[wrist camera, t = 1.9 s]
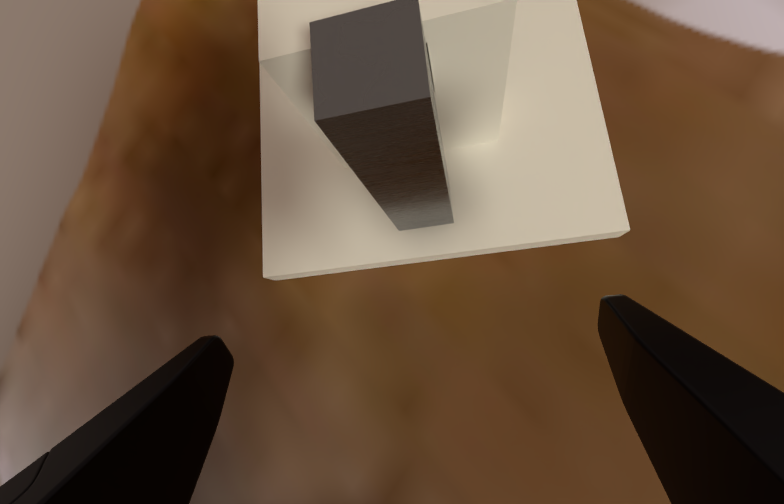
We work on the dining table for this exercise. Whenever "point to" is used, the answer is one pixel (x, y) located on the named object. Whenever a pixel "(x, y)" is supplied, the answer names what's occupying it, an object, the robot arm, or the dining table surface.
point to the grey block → (383, 109)
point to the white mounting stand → (443, 141)
